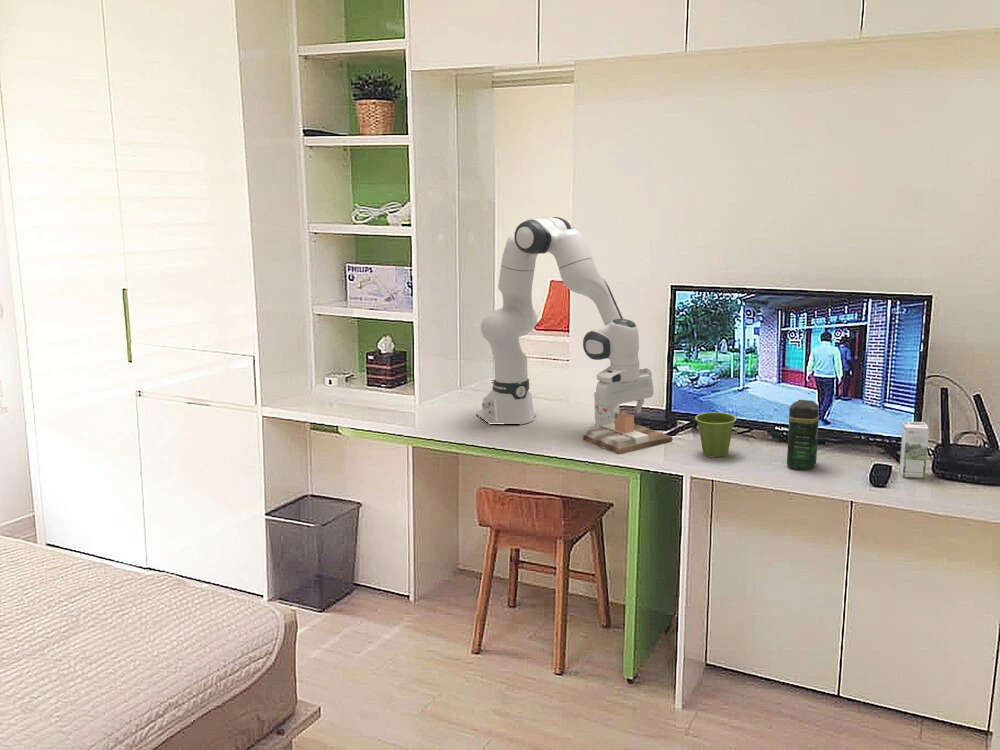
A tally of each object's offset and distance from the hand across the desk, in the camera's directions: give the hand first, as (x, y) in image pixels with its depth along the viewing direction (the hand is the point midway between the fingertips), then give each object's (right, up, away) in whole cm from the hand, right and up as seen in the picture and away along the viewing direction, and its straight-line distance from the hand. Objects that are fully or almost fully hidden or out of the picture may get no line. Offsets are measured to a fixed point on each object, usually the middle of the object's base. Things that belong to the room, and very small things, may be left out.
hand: (625, 415), depth 291 cm
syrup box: (+73, -15, -36) cm, 83 cm away
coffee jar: (+46, -13, -25) cm, 54 cm away
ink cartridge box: (-3, -4, +21) cm, 21 cm away
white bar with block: (0, -7, +2) cm, 7 cm away
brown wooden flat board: (+1, -8, +3) cm, 8 cm away
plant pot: (+25, -11, -13) cm, 30 cm away
